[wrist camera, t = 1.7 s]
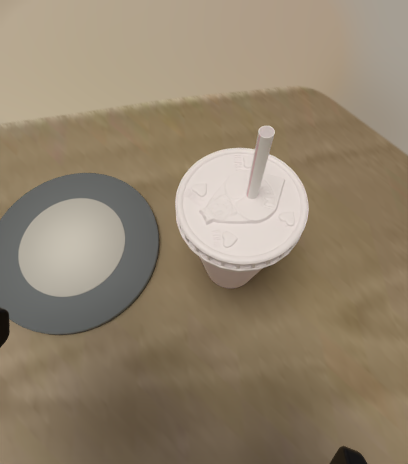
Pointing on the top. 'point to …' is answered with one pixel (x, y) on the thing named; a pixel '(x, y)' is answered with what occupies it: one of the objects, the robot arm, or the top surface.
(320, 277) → the top surface
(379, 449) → the top surface
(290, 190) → the smoothie
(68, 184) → the coaster
